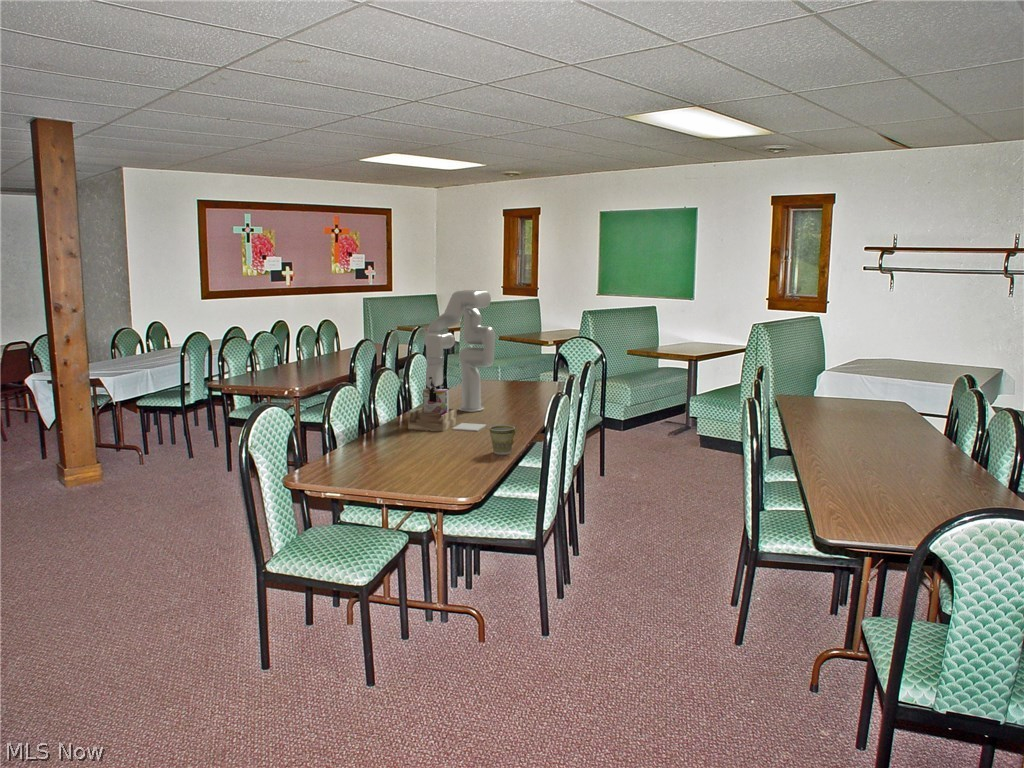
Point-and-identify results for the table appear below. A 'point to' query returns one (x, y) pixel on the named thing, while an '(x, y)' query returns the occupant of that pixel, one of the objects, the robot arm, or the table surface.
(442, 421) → the rack
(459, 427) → the mat
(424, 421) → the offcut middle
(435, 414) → the offcut top
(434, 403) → the candy bar box
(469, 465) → the table surface
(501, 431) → the ceramic cup
